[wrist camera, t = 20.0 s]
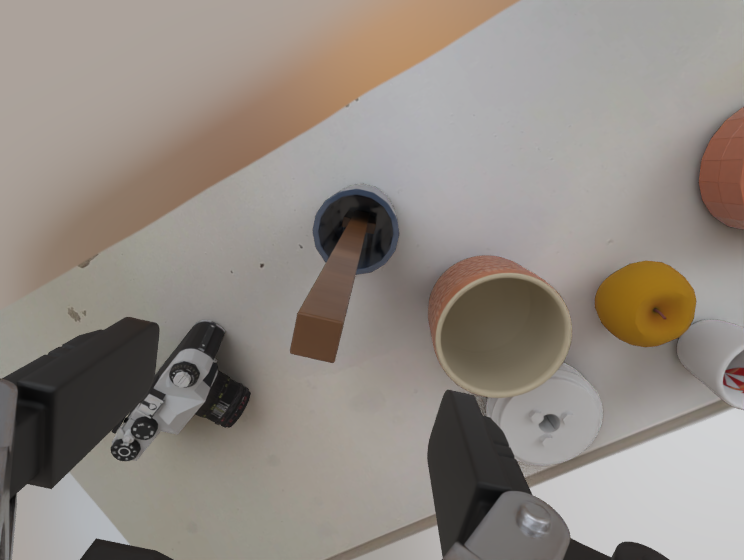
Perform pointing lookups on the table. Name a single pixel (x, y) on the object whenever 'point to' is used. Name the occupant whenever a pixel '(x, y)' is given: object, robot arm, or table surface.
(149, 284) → the table surface
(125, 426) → the camera
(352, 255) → the stick
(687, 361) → the cup
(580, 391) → the white thick round disc
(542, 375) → the planter
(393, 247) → the crock
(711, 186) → the bowl
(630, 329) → the apple
